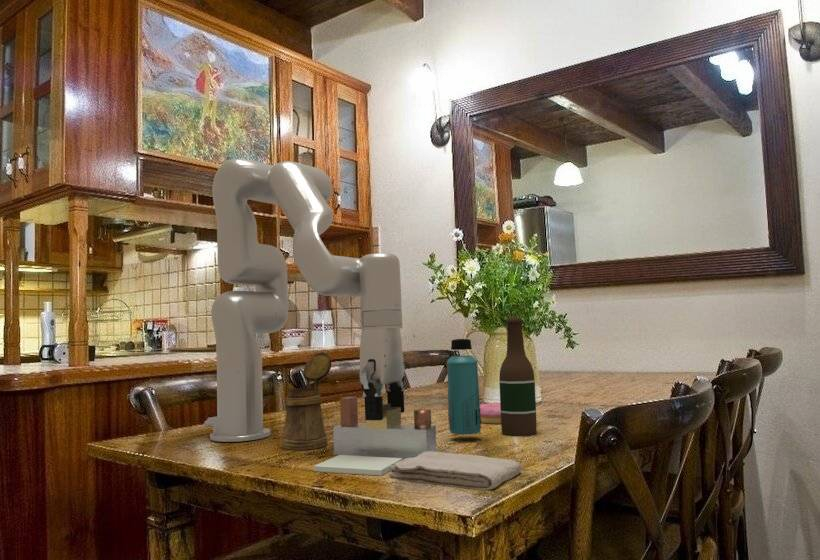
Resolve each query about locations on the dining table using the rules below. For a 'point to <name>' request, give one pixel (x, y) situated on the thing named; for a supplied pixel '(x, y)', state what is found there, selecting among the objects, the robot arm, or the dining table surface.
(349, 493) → the dining table surface
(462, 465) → the washcloth
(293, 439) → the wooden utensil holder
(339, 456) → the mat
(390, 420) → the beige block
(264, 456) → the dining table surface
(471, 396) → the beverage bottle
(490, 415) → the doughnut
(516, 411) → the beer bottle
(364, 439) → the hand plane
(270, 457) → the dining table surface
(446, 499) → the dining table surface
